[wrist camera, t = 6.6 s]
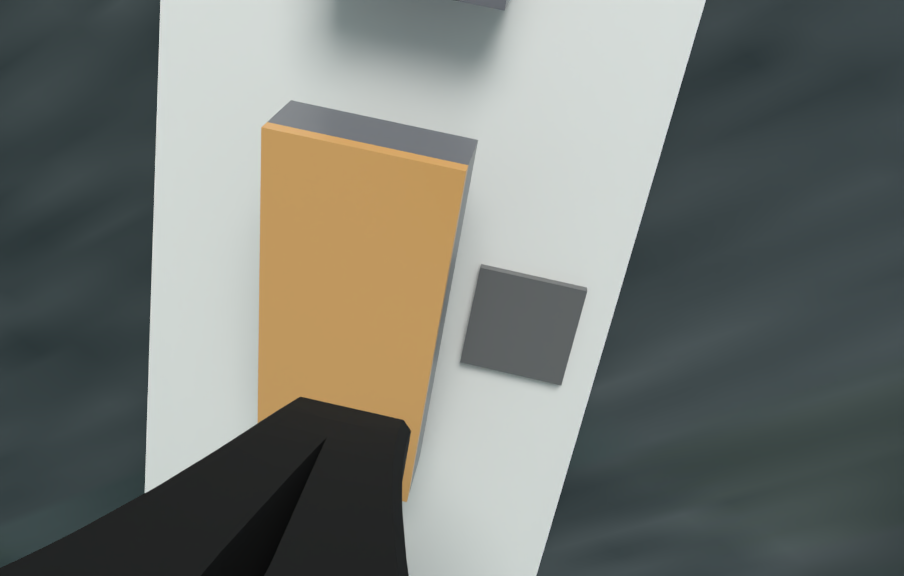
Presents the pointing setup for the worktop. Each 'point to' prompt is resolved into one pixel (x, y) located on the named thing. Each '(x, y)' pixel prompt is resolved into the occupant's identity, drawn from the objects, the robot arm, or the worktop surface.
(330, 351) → the orange flat bar
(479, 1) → the grey block
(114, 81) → the worktop surface
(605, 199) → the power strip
